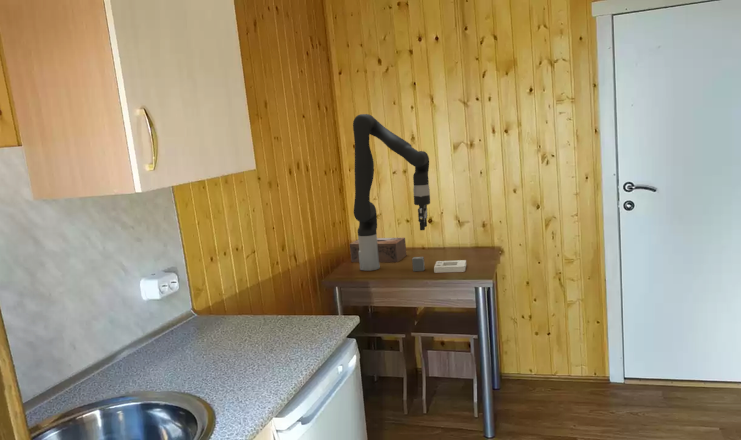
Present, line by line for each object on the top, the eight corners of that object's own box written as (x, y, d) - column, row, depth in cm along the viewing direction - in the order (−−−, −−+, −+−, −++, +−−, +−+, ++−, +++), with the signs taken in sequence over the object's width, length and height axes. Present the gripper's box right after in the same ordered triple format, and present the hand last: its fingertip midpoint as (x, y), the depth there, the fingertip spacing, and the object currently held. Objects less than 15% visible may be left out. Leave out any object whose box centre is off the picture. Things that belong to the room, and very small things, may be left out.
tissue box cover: (406, 256, 310) (405, 237, 308) (397, 262, 297) (395, 243, 295) (362, 255, 320) (360, 238, 318) (351, 262, 307) (349, 243, 305)
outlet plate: (434, 272, 269) (433, 267, 268) (437, 266, 280) (436, 261, 280) (464, 271, 266) (464, 266, 265) (466, 265, 277) (466, 259, 277)
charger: (413, 271, 275) (412, 258, 274) (414, 269, 279) (413, 256, 278) (423, 271, 274) (422, 258, 273) (424, 268, 278) (423, 256, 277)
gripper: (415, 192, 279) (417, 225, 282) (411, 196, 265) (413, 231, 268) (431, 192, 277) (433, 225, 280) (428, 196, 264) (429, 231, 266)
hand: (423, 228), depth 274 cm, fingers open, 8 cm apart
